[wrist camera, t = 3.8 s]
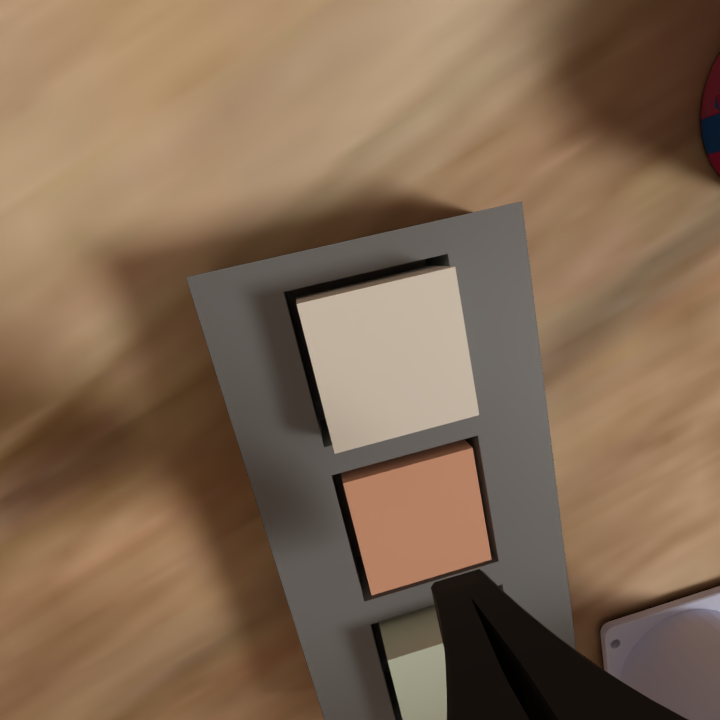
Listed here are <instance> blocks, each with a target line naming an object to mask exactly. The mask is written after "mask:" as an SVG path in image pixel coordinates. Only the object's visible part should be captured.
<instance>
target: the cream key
mask: <svg viewBox="0 0 720 720" xmlns="http://www.w3.org/2000/svg"><path fill="white" fill-rule="evenodd" d="M296 304H297V308H298V312H299V316H300V320H301V324H302V328H303V332H304V336H305V339H306V343H307V347H308V351H309V355H310V359H311V363H312V367H313V371H314V375H315V379H316V383H317V386H318V390H319V394H320V398H321V402H322V406H323V410H324V414H325V418H326V422H327V426H328V429H329V433H330V437H331V441H332V445H333V449H334V453H335V454H336V453H340V452H344V451H347V450H351V449H355V448H359V447H362V446H366V445H370V444H374V443H377V442H381V441H385V440H388V439H392V438H396V437H400V436H403V435H407V434H411V433H414V432H418V431H422V430H426V429H429V428H433V427H437V426H441V425H444V424H448V423H452V422H455V421H459V420H463V419H467V418H470V417H474V416H478V415H479V410H478V404H477V397H476V391H475V385H474V379H473V373H472V367H471V360H470V354H469V348H468V342H467V336H466V330H465V323H464V317H463V311H462V305H461V299H460V293H459V287H458V280H457V274H456V268H455V267H453V266H427V267H423V268H419V269H414V270H410V271H406V272H402V273H397V274H393V275H389V276H384V277H380V278H376V279H372V280H367V281H363V282H359V283H355V284H350V285H346V286H342V287H338V288H333V289H329V290H325V291H321V292H316V293H312V294H308V295H303V296H299V297H296Z"/></svg>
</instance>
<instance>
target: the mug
mask: <svg viewBox="0 0 720 720" xmlns="http://www.w3.org/2000/svg"><path fill="white" fill-rule="evenodd" d="M701 133H702V138H703V143H704V147H705V150H706V153H707V155H708V158H709V160H710V162H711V164H712V165H713V167H714V169H715V170H716V172H717V173H718V174H719V175H720V53H719V55H718V57H717V59H716V61H715V63H714V65H713V67H712V69H711V71H710V74H709V77H708V80H707V82H706V85H705V90H704V94H703V99H702V106H701Z"/></svg>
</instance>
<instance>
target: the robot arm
mask: <svg viewBox="0 0 720 720" xmlns="http://www.w3.org/2000/svg"><path fill="white" fill-rule="evenodd" d="M431 591H432V595H433V600H434V605H435V609H436V614H437V619H438V623H439V628H440V633H441V637H442V642H443V646H444V651H445V664H446V688H447V720H720V586H718V587H715V588H712V589H709V590H706V591H702V592H699V593H696V594H693V595H690V596H687V597H684V598H681V599H677V600H674V601H671V602H668V603H665V604H662V605H659V606H656V607H653V608H649V609H646V610H643V611H640V612H637V613H634V614H631V615H628V616H625V617H621V618H618V619H615V620H612V621H609V622H607V623H605V624H604V625H603V626H602V628H601V632H600V634H601V643H602V653H603V663H604V670H603V669H602V668H600V667H599V666H598V665H596V664H595V663H593V662H592V661H590V660H589V659H587V658H586V657H585V656H583V655H582V654H580V653H579V652H578V651H576V650H575V649H574V648H572V647H571V646H570V645H568V644H567V643H565V642H564V641H563V640H561V639H560V638H559V637H558V636H556V635H555V634H554V633H552V632H551V631H550V630H549V629H547V628H546V627H545V626H544V625H543V624H541V623H540V622H539V621H538V620H536V619H535V618H534V617H533V616H532V615H530V614H529V613H528V612H527V611H526V610H524V609H523V608H522V607H521V606H520V605H519V604H517V603H516V602H515V601H514V600H513V599H512V598H511V597H510V596H508V595H507V594H506V593H505V592H504V591H503V590H502V589H501V588H500V587H499V586H498V585H497V584H496V583H495V582H493V581H492V580H491V579H490V578H489V577H488V576H487V575H486V574H485V573H484V572H483V571H482V570H480V569H477V570H474V571H470V572H467V573H464V574H460V575H457V576H454V577H450V578H447V579H444V580H440V581H437V582H434V583H433V585H432V586H431Z"/></svg>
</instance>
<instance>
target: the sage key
mask: <svg viewBox="0 0 720 720" xmlns="http://www.w3.org/2000/svg"><path fill="white" fill-rule="evenodd" d="M379 626H380V630H381V635H382V639H383V643H384V647H385V652H386V656H387V660H388V664H389V668H390V672H391V676H392V680H393V684H394V688H395V692H396V696H397V699H398V703H399V707H400V711H401V715H402V719H403V720H447V688H446V664H445V651H444V646H443V642H442V637H441V633H440V628H439V623H438V619H437V614H436V609H435V605H433V606H430V607H426V608H423V609H420V610H417V611H413V612H410V613H407V614H403V615H400V616H397V617H394V618H390V619H387V620H384V621H381V622H379Z"/></svg>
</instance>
